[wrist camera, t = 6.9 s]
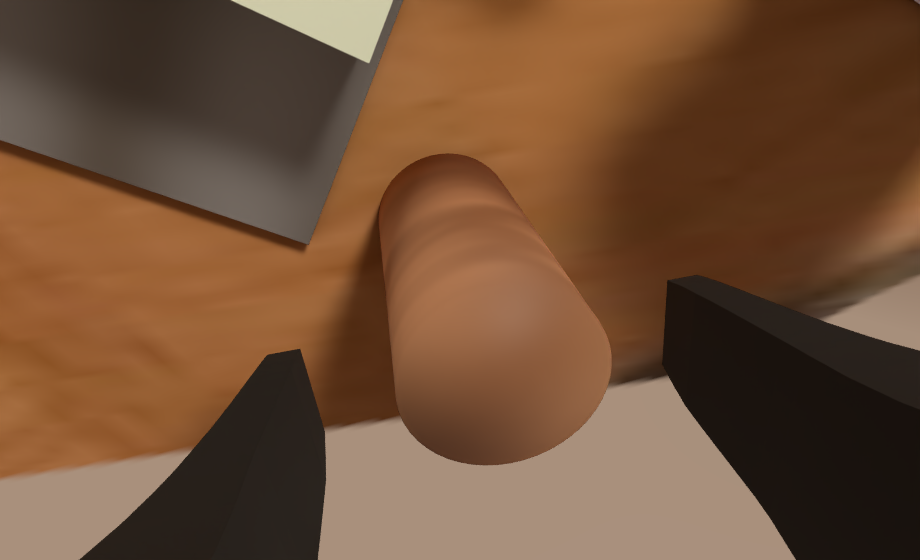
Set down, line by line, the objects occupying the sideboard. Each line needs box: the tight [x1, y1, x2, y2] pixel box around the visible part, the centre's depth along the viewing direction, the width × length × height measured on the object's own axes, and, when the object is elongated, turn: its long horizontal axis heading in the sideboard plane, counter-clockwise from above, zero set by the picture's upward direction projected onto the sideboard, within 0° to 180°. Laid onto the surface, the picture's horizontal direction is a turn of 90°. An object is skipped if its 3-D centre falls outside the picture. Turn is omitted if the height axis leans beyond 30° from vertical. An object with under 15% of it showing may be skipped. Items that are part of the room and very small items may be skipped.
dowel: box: [378, 154, 612, 465], centre depth 14 cm, size 4×4×8 cm
